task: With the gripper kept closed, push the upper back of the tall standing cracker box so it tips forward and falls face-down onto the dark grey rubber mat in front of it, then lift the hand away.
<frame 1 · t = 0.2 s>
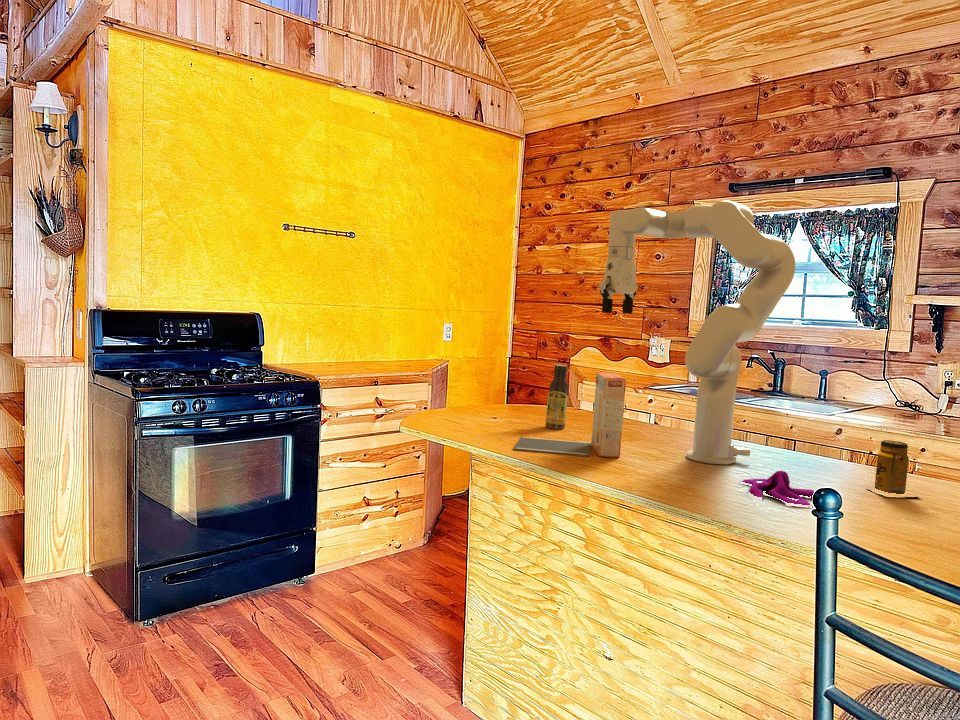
hand: (617, 313, 202), 37 cm above the countertop, tool pointing down, fingers open, 9 cm apart
sauce bottle: (555, 428, 216), on the countertop
cloth: (773, 499, 151), on the countertop
condiment: (893, 495, 157), on the countertop
cracker box: (605, 452, 186), on the countertop
mat: (553, 447, 189), on the countertop
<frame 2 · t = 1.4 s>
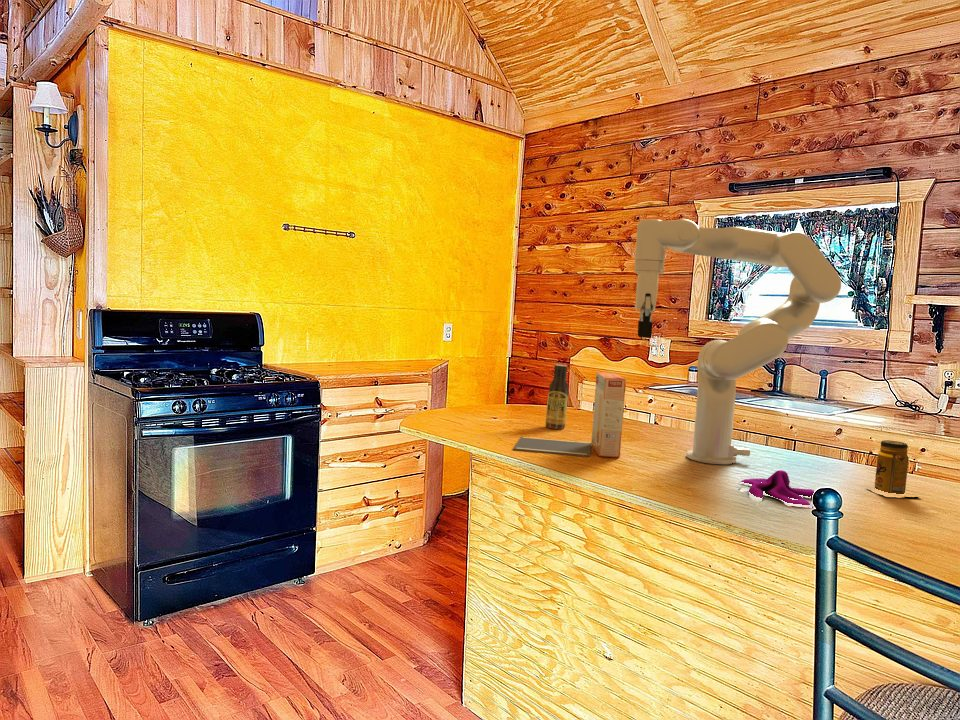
hand: (644, 336, 182), 32 cm above the countertop, tool pointing down, fingers open, 6 cm apart
nothing on the countertop moved.
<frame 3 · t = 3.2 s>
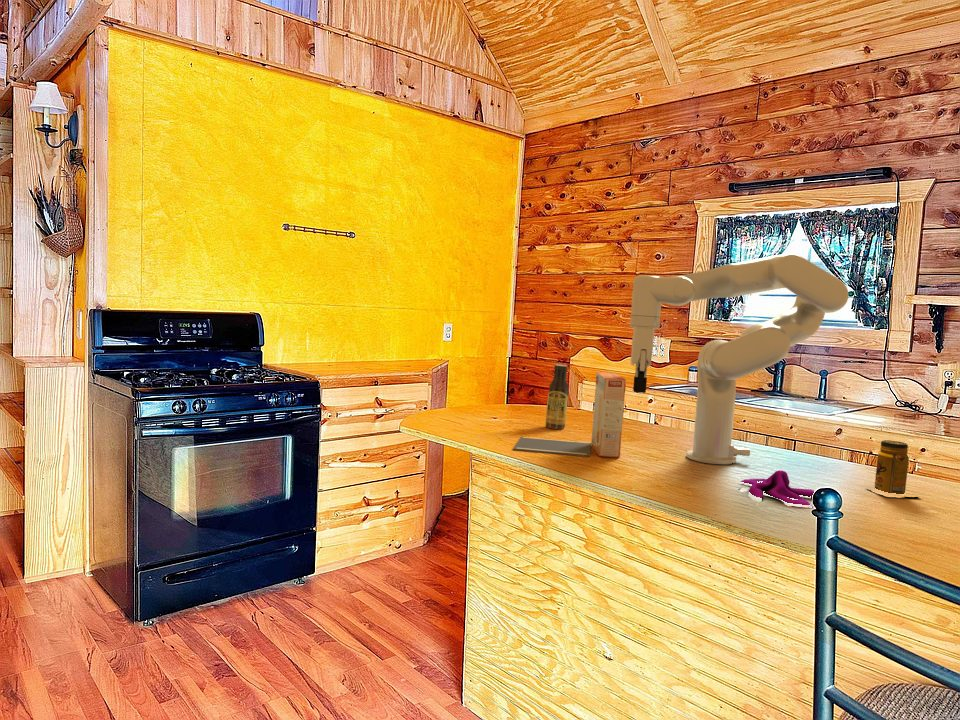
hand: (639, 391, 183), 17 cm above the countertop, tool pointing down, fingers closed
nothing on the countertop moved.
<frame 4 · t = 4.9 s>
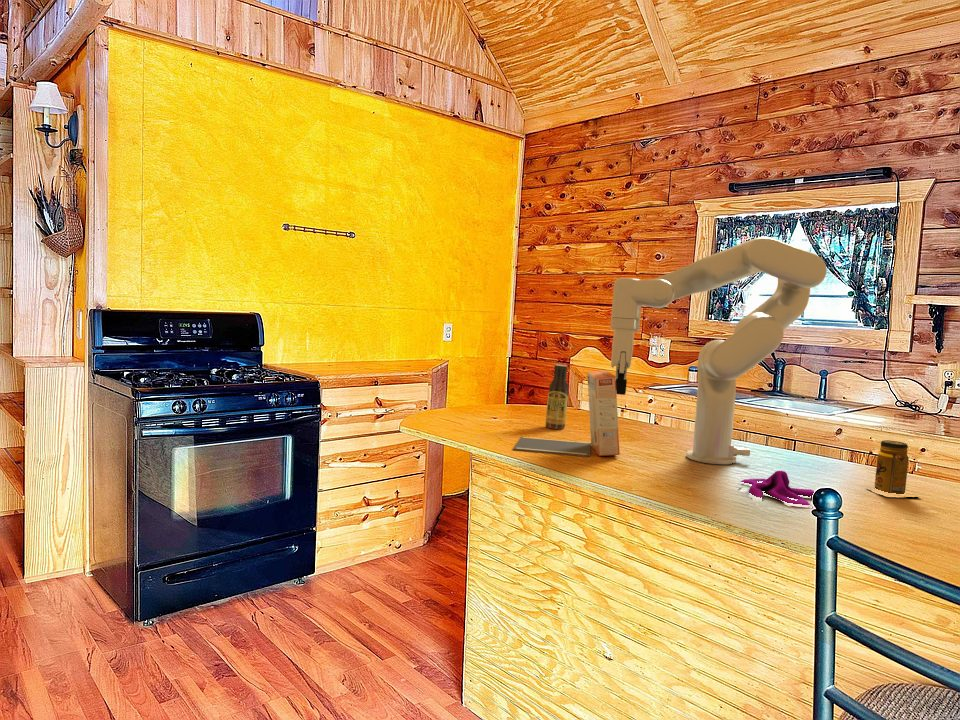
hand: (619, 393, 184), 16 cm above the countertop, tool pointing down, fingers closed
cracker box: (605, 451, 186), on the countertop, touching gripper, mat
everything else where it was.
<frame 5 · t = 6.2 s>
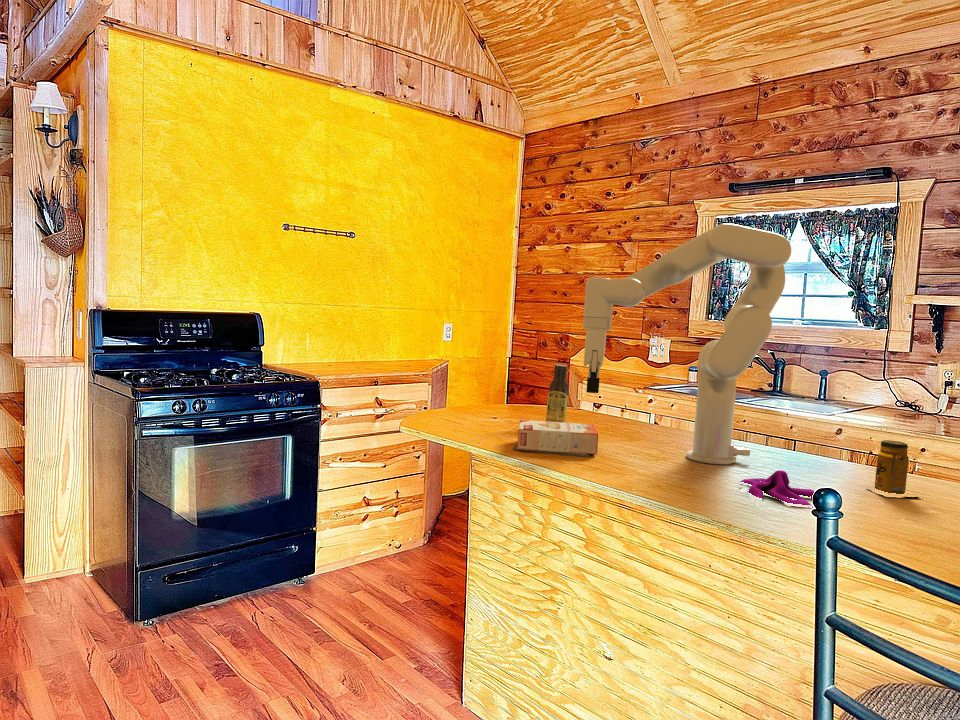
hand: (592, 392, 185), 16 cm above the countertop, tool pointing down, fingers closed
cracker box: (596, 438, 186), point 3 cm above the countertop, touching mat
everything else where it was.
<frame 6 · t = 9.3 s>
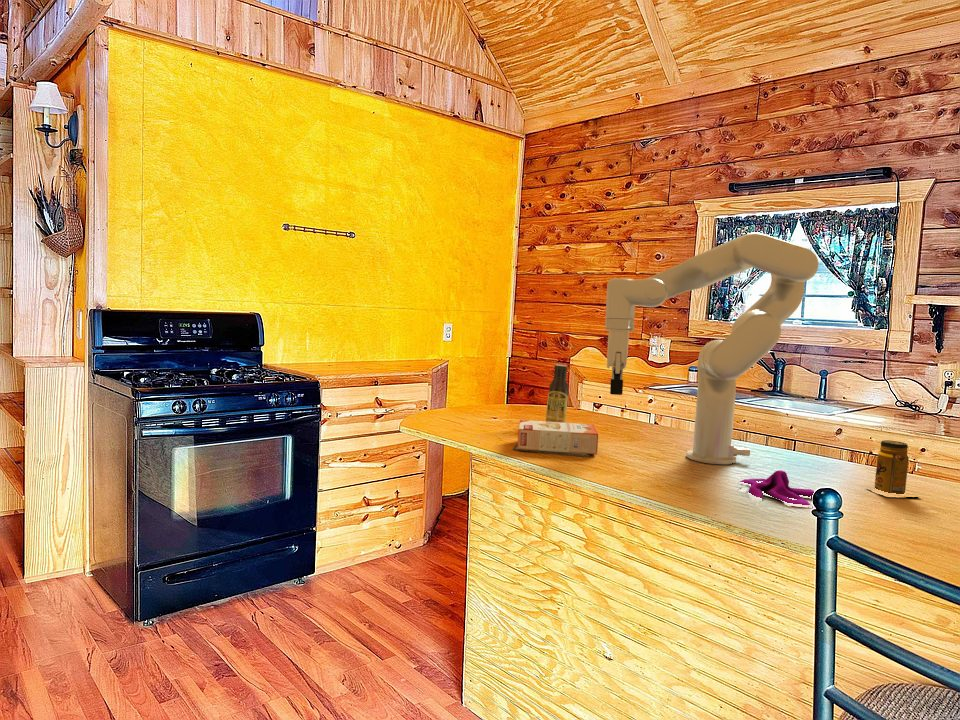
hand: (616, 394, 184), 16 cm above the countertop, tool pointing down, fingers closed
nothing on the countertop moved.
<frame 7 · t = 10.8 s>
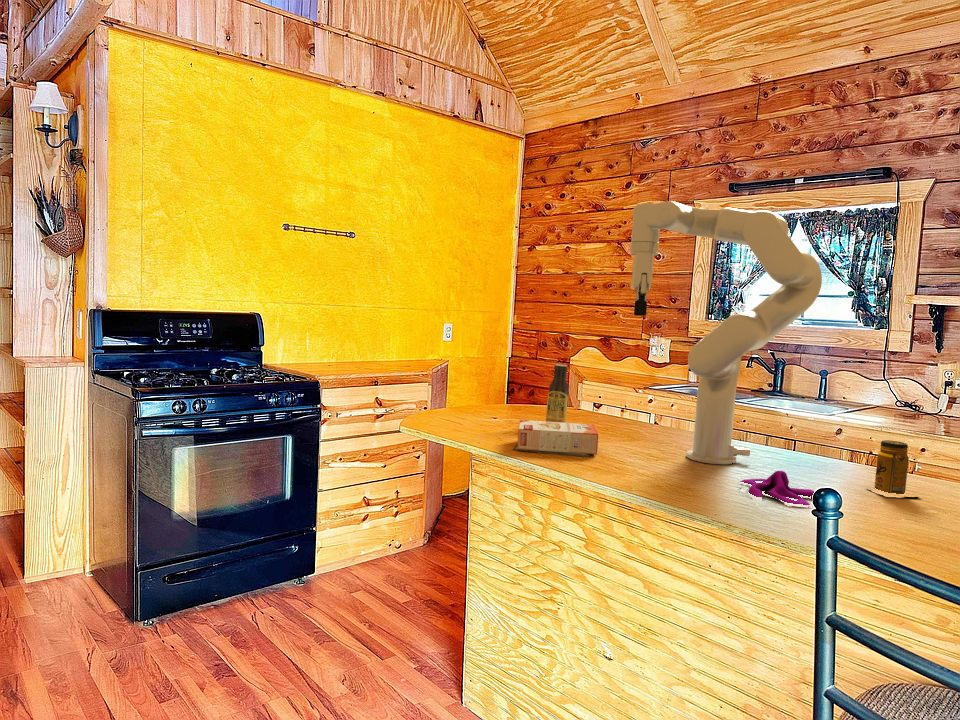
hand: (639, 315, 194), 37 cm above the countertop, tool pointing down, fingers closed
nothing on the countertop moved.
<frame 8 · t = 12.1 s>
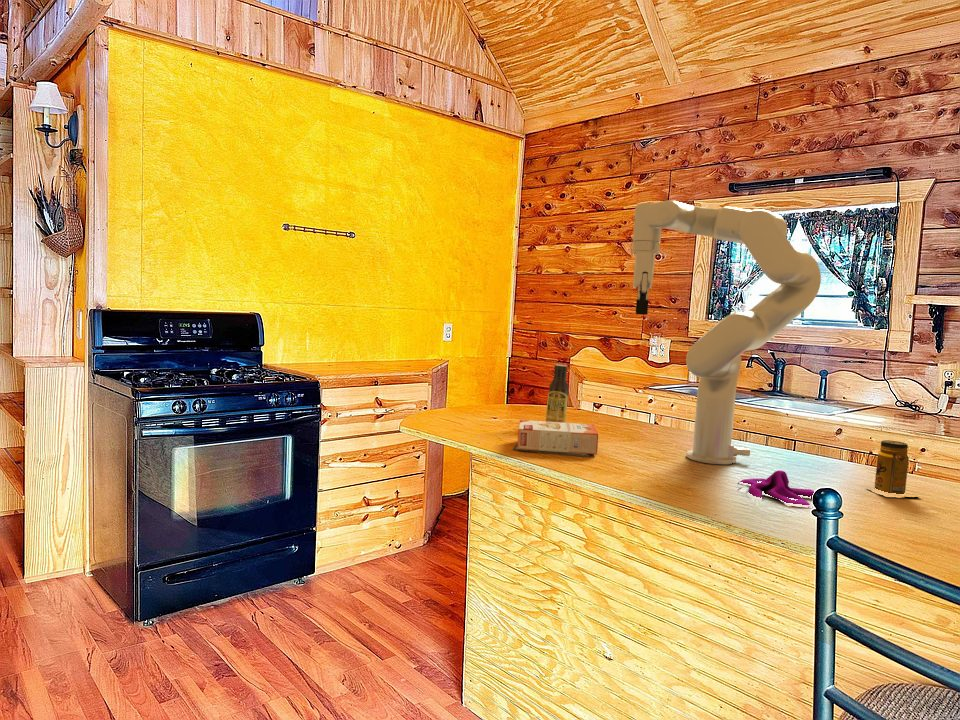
hand: (641, 314, 195), 37 cm above the countertop, tool pointing down, fingers closed
nothing on the countertop moved.
at the end: cracker box tilted 91°; cracker box inside the target area on the mat (2.4 cm from its centre), point 3.5 cm above the mat's base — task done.
